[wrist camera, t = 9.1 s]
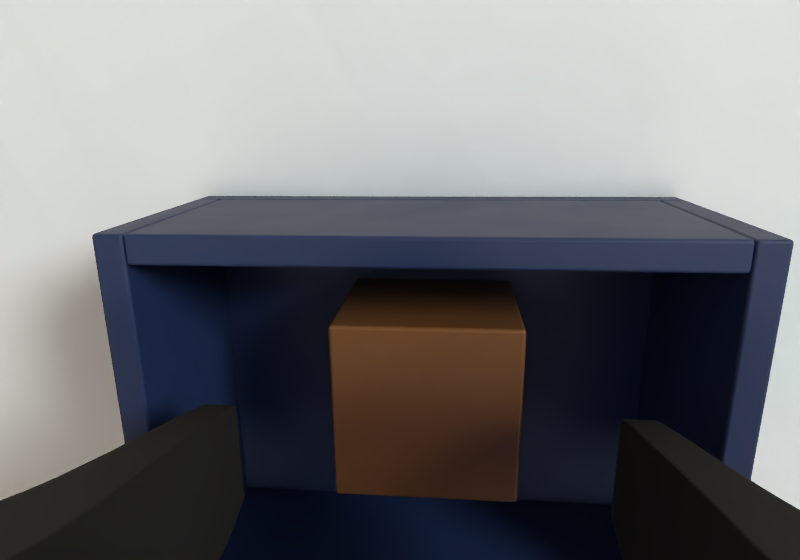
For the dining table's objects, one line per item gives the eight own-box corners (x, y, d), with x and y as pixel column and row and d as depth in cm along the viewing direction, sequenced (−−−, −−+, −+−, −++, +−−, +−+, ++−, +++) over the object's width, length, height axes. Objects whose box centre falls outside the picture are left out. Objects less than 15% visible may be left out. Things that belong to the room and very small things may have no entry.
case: (206, 196, 15) (90, 234, 11) (677, 196, 14) (795, 240, 9) (236, 490, 18) (154, 633, 13) (639, 510, 17) (716, 675, 12)
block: (355, 277, 15) (327, 325, 12) (510, 280, 15) (527, 330, 11) (360, 414, 16) (335, 495, 13) (503, 419, 16) (518, 503, 12)
